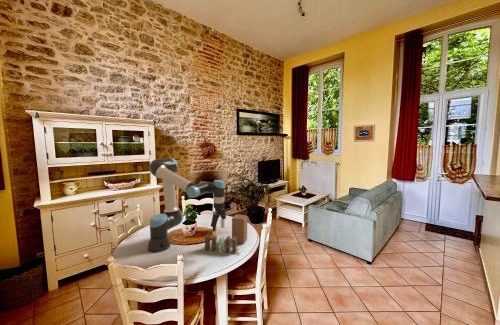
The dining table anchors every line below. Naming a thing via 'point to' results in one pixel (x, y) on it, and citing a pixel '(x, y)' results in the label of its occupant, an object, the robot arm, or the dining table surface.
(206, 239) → the domino
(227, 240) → the domino
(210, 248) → the runner
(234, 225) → the block
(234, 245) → the domino
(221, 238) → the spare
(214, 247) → the domino
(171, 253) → the dining table surface
